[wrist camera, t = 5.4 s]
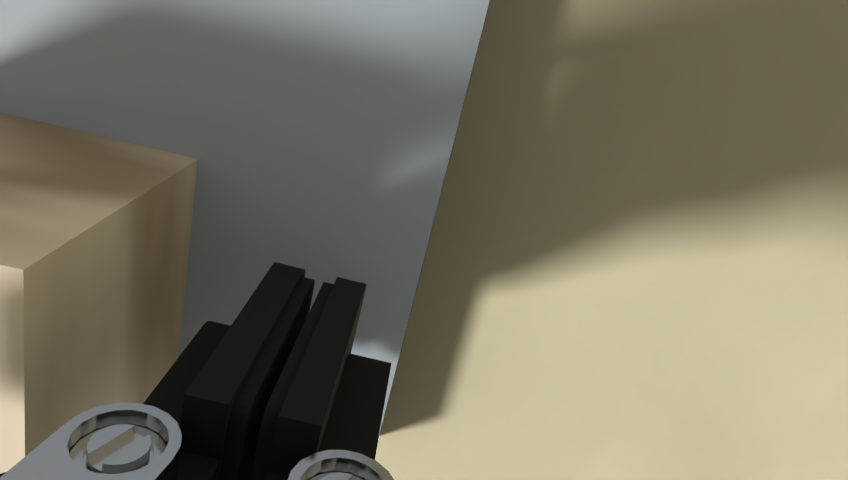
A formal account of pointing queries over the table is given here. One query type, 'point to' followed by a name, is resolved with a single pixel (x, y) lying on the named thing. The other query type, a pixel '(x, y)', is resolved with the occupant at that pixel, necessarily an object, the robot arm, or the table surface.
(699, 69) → the table surface
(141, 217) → the beech block
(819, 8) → the table surface
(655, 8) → the table surface
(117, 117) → the trap deck
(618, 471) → the table surface
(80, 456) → the robot arm
